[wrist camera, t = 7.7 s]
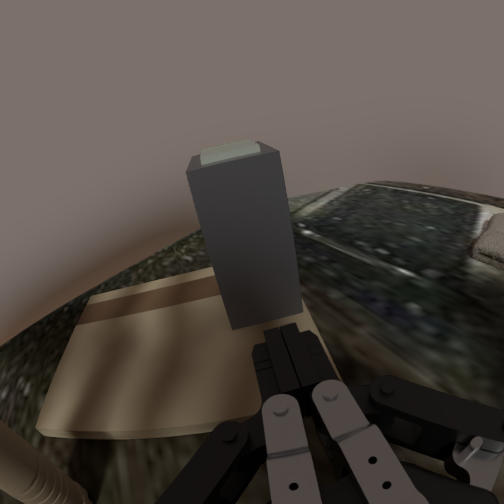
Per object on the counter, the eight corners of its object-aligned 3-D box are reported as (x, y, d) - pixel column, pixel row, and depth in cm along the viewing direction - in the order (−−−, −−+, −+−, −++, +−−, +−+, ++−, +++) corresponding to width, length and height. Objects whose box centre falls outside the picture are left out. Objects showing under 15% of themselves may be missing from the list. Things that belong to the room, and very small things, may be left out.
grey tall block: (232, 330, 24) (183, 164, 17) (225, 280, 31) (190, 151, 25) (303, 312, 24) (277, 143, 18) (281, 266, 31) (257, 135, 25)
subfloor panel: (44, 435, 16) (35, 427, 15) (94, 303, 34) (91, 296, 33) (345, 398, 17) (346, 388, 16) (279, 259, 35) (277, 250, 34)
